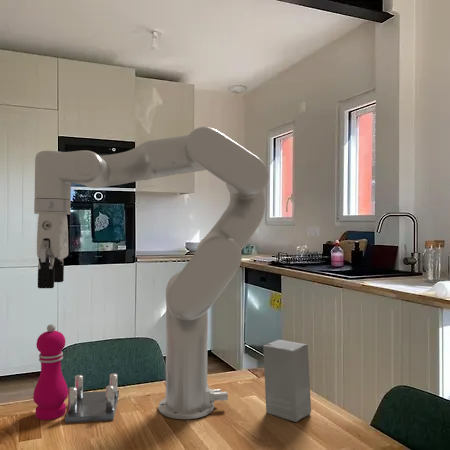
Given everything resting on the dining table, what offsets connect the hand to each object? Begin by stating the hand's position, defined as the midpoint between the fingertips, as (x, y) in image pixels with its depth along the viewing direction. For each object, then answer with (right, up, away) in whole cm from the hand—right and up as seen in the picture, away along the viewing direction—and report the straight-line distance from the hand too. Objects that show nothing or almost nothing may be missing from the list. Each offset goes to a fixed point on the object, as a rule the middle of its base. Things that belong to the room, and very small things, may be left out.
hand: (51, 284), depth 100 cm
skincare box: (+52, -29, +1) cm, 60 cm away
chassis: (+8, -29, +3) cm, 30 cm away
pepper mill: (0, -29, 0) cm, 29 cm away
